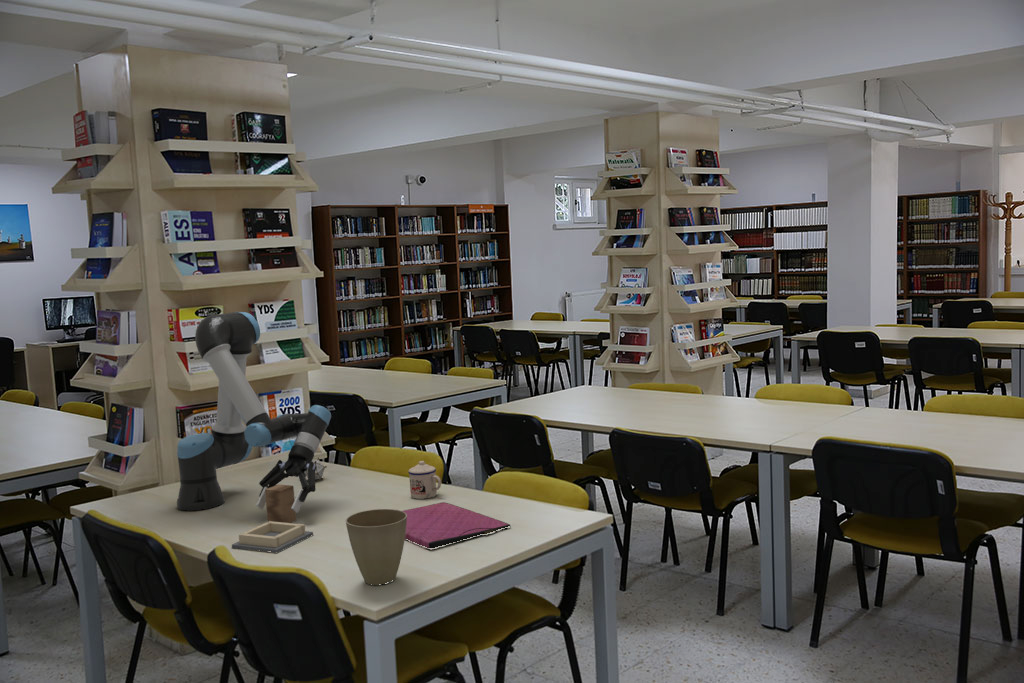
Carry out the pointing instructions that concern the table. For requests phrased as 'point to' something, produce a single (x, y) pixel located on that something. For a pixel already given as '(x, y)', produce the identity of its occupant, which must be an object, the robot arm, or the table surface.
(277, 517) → the walnut block
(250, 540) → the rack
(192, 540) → the table surface
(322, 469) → the game die
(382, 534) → the plant pot
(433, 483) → the teacup with lid
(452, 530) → the laptop bag
